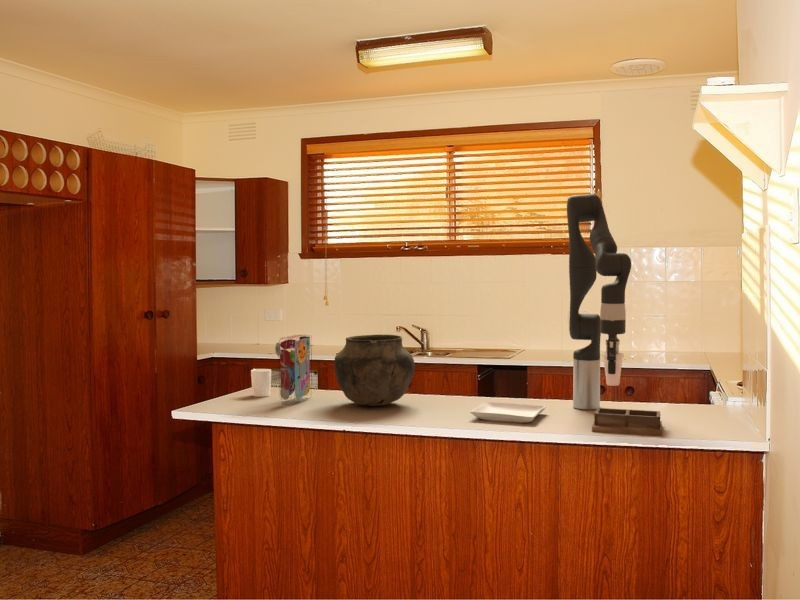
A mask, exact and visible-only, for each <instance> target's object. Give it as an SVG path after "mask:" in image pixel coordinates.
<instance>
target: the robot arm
mask: <svg viewBox="0 0 800 600" xmlns="http://www.w3.org/2000/svg"><path fill="white" fill-rule="evenodd" d="M603 206H604V205H603V203H602V200H601V198H600V196H599V195H597V194H595V193H588V194H575V195H570V196H569V197H568V198H567V201H566V217H567V219H566V220H567V228H568V229H567V230H568V243H569V244H568V246H569V247H568V248H569V249H568V250H569V251H568V253H569V255H568V256H569V257H568V260H569V261H568V269H569V270H568V275H569V294H570V295H569V296H570V297H569V300H570V301H569V320H568V321H569V323H568V326H569V327H568V329H569V330H568V331H569V336H570V338H571V339H572V340H576V341H577V340H579V341H580V340H581V341H583V340H584V341H590V343H589V344H588V345H586V346H585V347H583V348H579V349H576V350H574V351H573V354H572V355H573V357H572V358H573V362H572V363H573V367H572V369H573V374H572V375H573V376H572V377H573V378H572V379H573V380H572V383H573V384H572V388H573V389H572V393H573V394H572V407H573V409H574V408H575V409H576V410H577V409H578V410H579V409H580V410H596V409H597V408H601V407H600V406H601V334H603V335H608V336H607V337H608V338H607V339H606V340H605V346H606V347H605V353H606V354H607V360H608V374H615V373H616V355H618V353H620V352H619V351H620V350H619V349H620V347H619V346H620V342H621V339H619V338H618V335H624V334H626V327H627V325H626V320H627V319H626V315H627V314H626V312H627V310H626V288H627V284H628V280H629V276H630V272H631V269H632V260H631V258H630V256H629V255H628V254H626V253H624V252H622V253H621V252H620V253H617V252H618V246H617V243H616V241H615V239H614V237H613V236H612V233H611V232H610V229H609V225H608V220H607V217H606V214H605V209H604V207H603ZM587 222H595V223H594V224H593V227H592V228H591V230H590V233H589V243H590V245H591V248H590V246H589V244H588V243H587V242H586V240H585V239H584V237H583V235H582V233H581V228H580V223H587ZM597 274H599V276H602V277H616V278H615V279H614V281H613V282H611V283H606V284H604V285H602V286H601V290H600V294H601V296H600V297H601V302H600V304H601V305H600V314H598V313H580V308H581V305H582V302H583V300H584V299H585V297H586V295H588V293H589V292H590V290H591V289H592V287H593V286H594V284H595V282H596V280H597ZM609 355H614V356H609Z"/></svg>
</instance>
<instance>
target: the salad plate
mask: <svg viewBox="0 0 800 600" xmlns="http://www.w3.org/2000/svg"><path fill="white" fill-rule="evenodd" d="M546 408H547V405H537V404H526V403H516V402H515V403H513V402H501V401H500V402H499V401H498V402H497V401H486V402H484V403H481V404H480V405H478V406H476V407H475V408H473V409H471V410H470V411H469V412H470V414H471V415H473V417H475V418H478V419H481V420H484V421H493V422H504V423H506V422H507V423H516V424H524V423H525V424H527V423H531V422H532V421H534V419H535V418H536V417H537V416H538V415H540V414H541V413H543V411H545V409H546Z"/></svg>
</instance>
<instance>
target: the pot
mask: <svg viewBox="0 0 800 600" xmlns="http://www.w3.org/2000/svg"><path fill="white" fill-rule="evenodd" d="M333 363H334V364H333V367H334V374H335V378H336V380H337V384H338V386H339V388H340V389H341V391H342V392H343V394H344V396H345V398H346V399H347V400H349V401H351V402H353V403H355V404H358V405H362V406H368V407H379V406H380V407H381V406H385V405H389V404H392V403H394V402H397V401H398V400H399V399H401V398H402V397H404V395H405V394H406V393H407V390H408V389H409V386H410V384H412V383H411V382H412V380H413V376H414V374H415V360H414V358H413V355H412V354H411V353H410V352H409V351H408V350H406V348H405V347H404V346H403V337H402V336H401V335H395V334H366V335H365V334H364V335H362V334H361V335H353V336H349V337H345V345H344V347H343V348H342V349H341V350H340V351H338V352H337V354H336V355H335V356H334V362H333Z"/></svg>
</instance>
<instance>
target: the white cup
mask: <svg viewBox="0 0 800 600" xmlns="http://www.w3.org/2000/svg"><path fill="white" fill-rule="evenodd" d="M250 377H251V389H252V396H253V397H259V398H263V397H270V396H271V388H272V387H271V385H272V369H270V368H254V369H251V370H250Z"/></svg>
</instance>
